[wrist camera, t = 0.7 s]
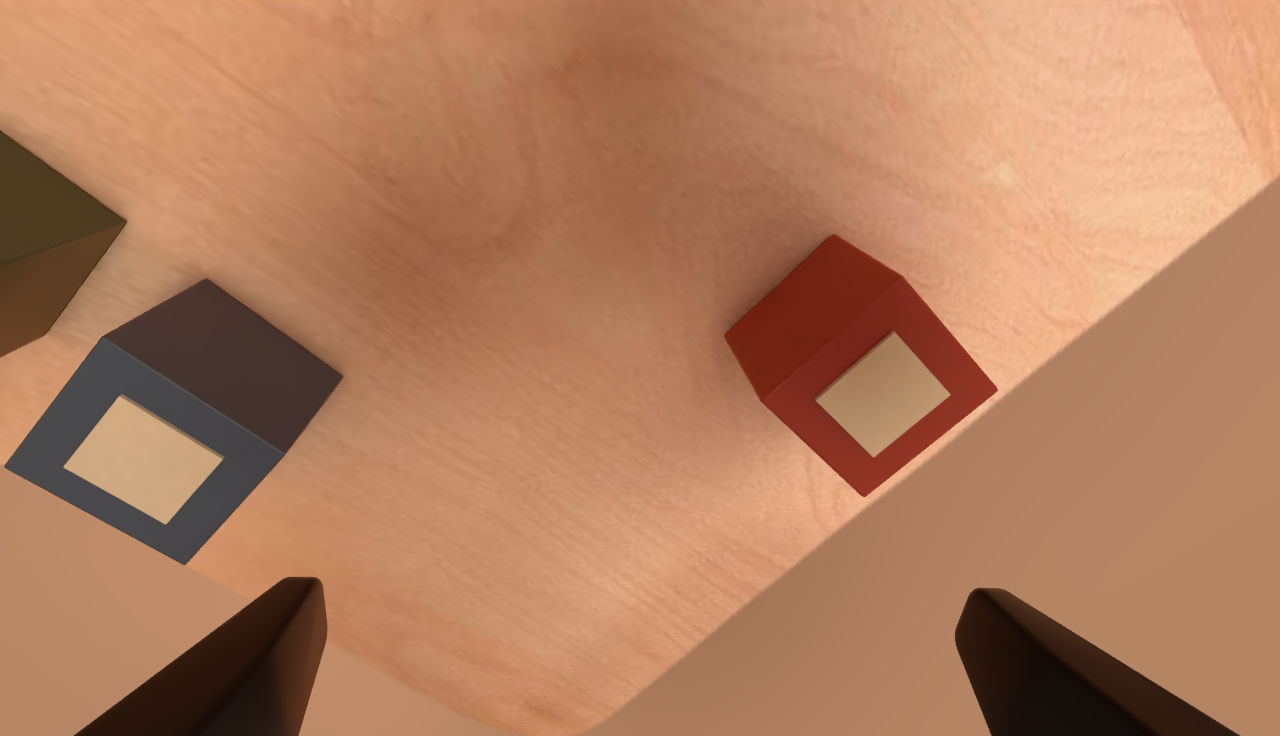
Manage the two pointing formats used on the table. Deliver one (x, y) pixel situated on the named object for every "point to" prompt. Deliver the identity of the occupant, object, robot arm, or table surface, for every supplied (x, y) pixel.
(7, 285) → the green block
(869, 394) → the red cube
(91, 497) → the slate block
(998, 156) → the table surface
